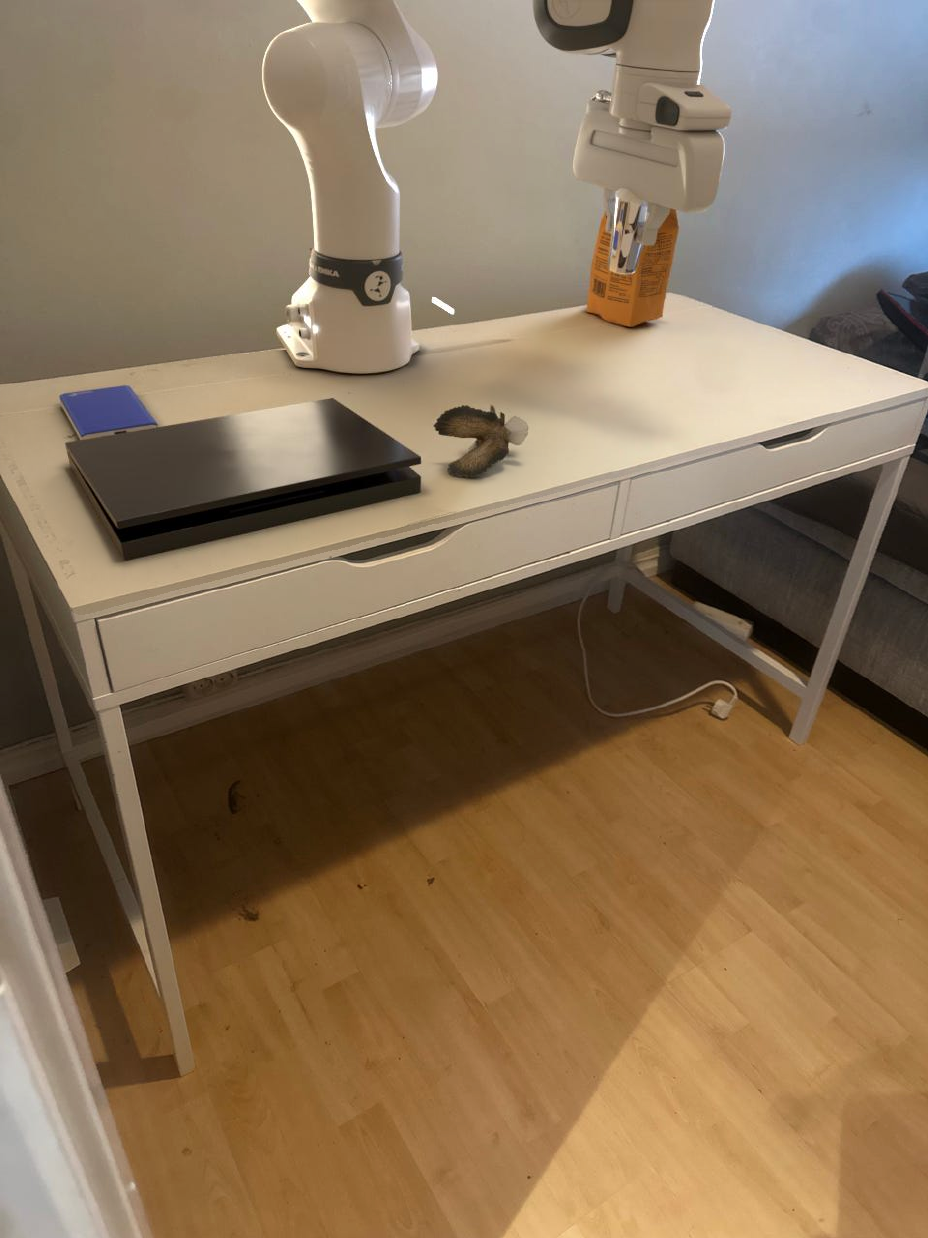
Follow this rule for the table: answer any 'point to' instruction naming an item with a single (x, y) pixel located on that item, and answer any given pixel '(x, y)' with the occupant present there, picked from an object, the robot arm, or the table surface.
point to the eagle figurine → (480, 437)
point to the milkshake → (626, 231)
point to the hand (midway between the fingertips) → (629, 238)
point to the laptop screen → (232, 460)
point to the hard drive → (106, 412)
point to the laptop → (251, 512)
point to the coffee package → (633, 278)
